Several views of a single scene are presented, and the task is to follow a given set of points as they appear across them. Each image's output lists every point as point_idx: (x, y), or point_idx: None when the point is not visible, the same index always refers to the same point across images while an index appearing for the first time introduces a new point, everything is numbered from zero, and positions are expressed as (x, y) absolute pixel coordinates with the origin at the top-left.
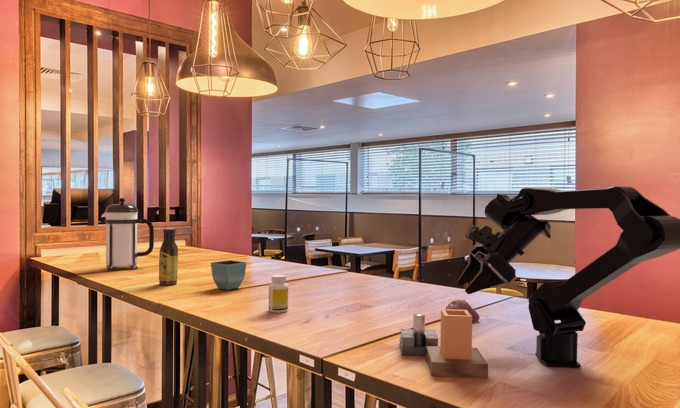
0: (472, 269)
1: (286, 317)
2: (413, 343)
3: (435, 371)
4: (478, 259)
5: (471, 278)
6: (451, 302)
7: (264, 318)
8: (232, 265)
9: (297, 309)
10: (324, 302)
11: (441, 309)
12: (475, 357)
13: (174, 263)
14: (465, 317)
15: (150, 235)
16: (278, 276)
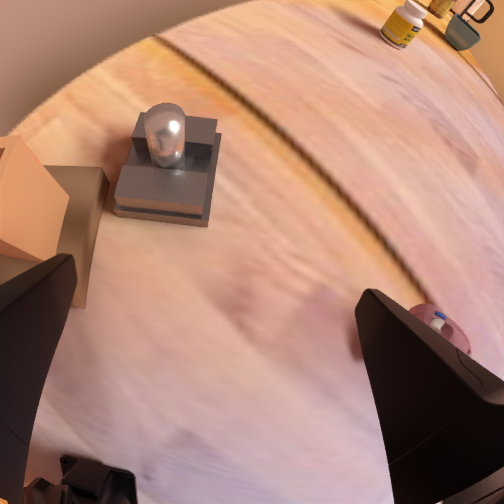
0: (434, 414)
1: (363, 36)
2: (134, 144)
3: None
4: (500, 478)
5: (381, 394)
6: (450, 324)
7: (349, 18)
8: (461, 22)
9: (408, 61)
10: (457, 108)
11: (16, 136)
12: (13, 271)
13: (444, 1)
14: None
15: (486, 14)
16: (413, 3)
